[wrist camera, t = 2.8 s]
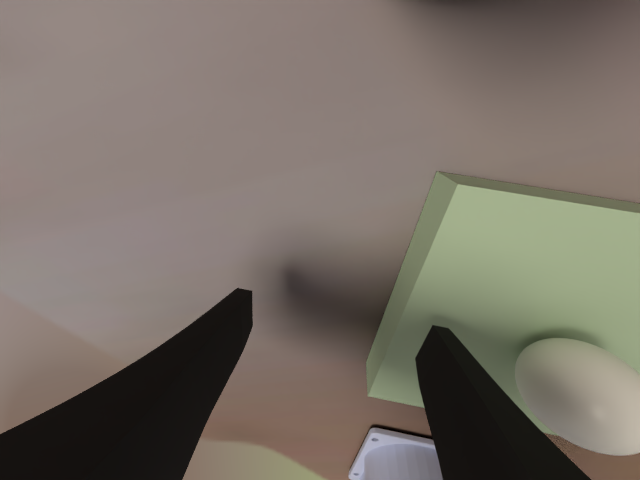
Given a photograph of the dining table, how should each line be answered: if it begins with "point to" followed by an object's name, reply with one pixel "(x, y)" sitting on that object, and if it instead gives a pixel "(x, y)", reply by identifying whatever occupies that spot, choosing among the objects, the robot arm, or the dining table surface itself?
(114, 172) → the dining table surface
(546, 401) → the ball
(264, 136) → the dining table surface
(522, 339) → the board with rectangular hole
